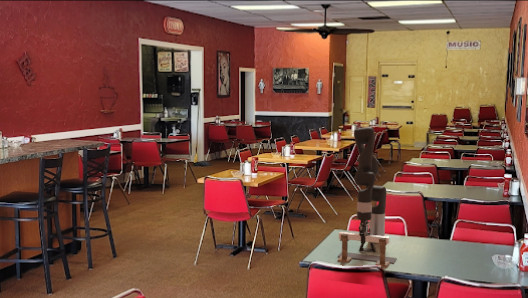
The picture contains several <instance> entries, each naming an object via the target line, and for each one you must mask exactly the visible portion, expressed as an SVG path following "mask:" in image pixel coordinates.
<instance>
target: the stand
mask: <svg viewBox="0 0 528 298" xmlns="http://www.w3.org/2000/svg"><path fill="white" fill-rule="evenodd" d="M346 232H347V231H346ZM347 233H349V232H347ZM339 241H340V242H341V252H342V256H340V257H337V263H347V264H349V263H350V262H351V261H352V260H353V259H352V258H351V257H347V252H349V251H348V247H349V246H348V243H349V242H348V241H350V240H347V235H343V234H341V239H339ZM387 245H388V244H385V239H382V238H379V243H377V246H379V256H380V261H377V262H375V265H381V266H382V267H381V268H385V269H386V268H387V269H388V267H389V265H390V263H389V262H385V257H386V250H387V249H386V247H387Z"/></svg>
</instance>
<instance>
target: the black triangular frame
mask: <svg viewBox="0 0 528 298" xmlns="http://www.w3.org/2000/svg"><path fill="white" fill-rule="evenodd" d="M370 232H371V230H370V229H369V228H368V233H367V235H371V234H370ZM369 244H370V247H364V245H365V244H361V243H360V245H359V250H358V252H365V253H366V252H368V253H376V246H375V243H374V242H369Z"/></svg>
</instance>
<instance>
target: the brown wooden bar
mask: <svg viewBox="0 0 528 298" xmlns="http://www.w3.org/2000/svg"><path fill="white" fill-rule="evenodd" d="M341 234H343V235H347V240H349V241H358V242H361V236H360V235H359V233H357V232H356V233H355V232H348V233H347V231H346V232H345V231H339V233H338V240H340V239H341ZM365 235H366V236H365V243H367V242H368V243H370V242H375V243H376V244H378V243H379V238H382V239H385V244H387V245H389V244H390V236H386V235H384V236H377V235H367V234H365ZM375 243H374V244H375Z"/></svg>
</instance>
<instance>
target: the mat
mask: <svg viewBox="0 0 528 298" xmlns="http://www.w3.org/2000/svg"><path fill="white" fill-rule="evenodd" d="M340 256H342V251H341V252H340V253H339V254H338V255H337V258H339V257H340ZM347 257H351V258H352V259H351V260H358V261H359V260H360V261H367V262H375V263H377V261H380V255H374V254H365V253H359V252H358V253H357V252H349V251H347ZM396 261H397V257H391V256H385V262H389V264H393V265H394V264H395V263H396Z"/></svg>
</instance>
